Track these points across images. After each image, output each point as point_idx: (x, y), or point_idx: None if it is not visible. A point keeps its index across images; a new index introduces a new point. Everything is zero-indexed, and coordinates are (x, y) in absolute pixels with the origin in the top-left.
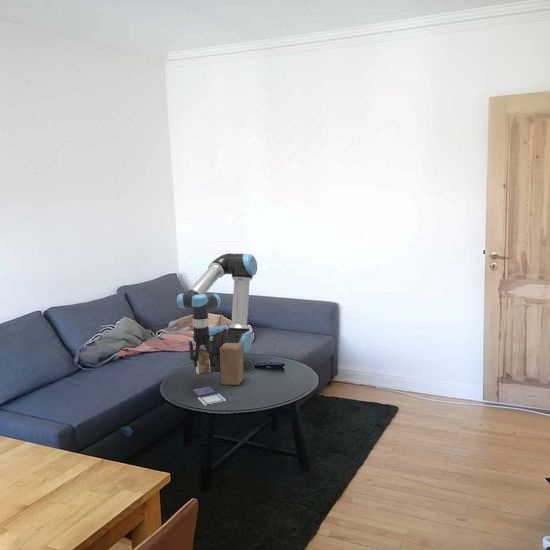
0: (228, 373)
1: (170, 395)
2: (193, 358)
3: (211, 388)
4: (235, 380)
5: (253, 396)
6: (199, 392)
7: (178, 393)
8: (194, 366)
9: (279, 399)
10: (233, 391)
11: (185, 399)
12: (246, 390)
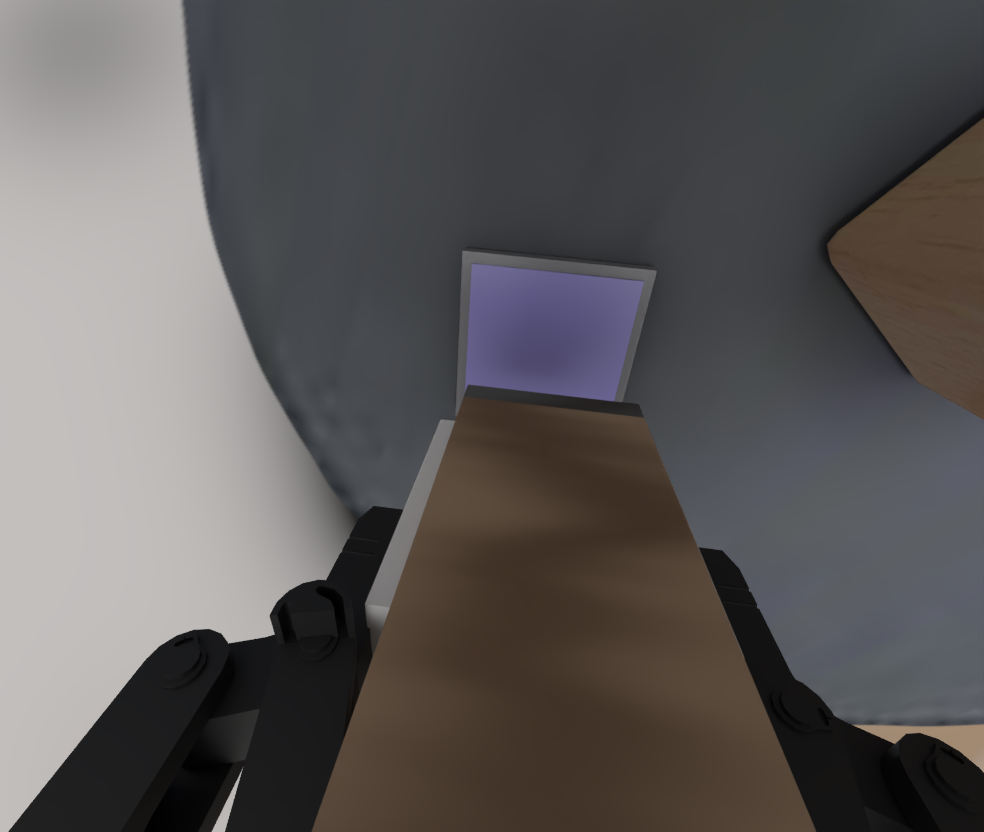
0: (973, 364)
1: (239, 201)
2: (239, 767)
3: (635, 334)
4: (938, 385)
5: (781, 600)
6: (485, 368)
7: (322, 197)
8: (371, 517)
9: (847, 695)
10: (757, 461)
11: (350, 378)
12: (849, 503)
